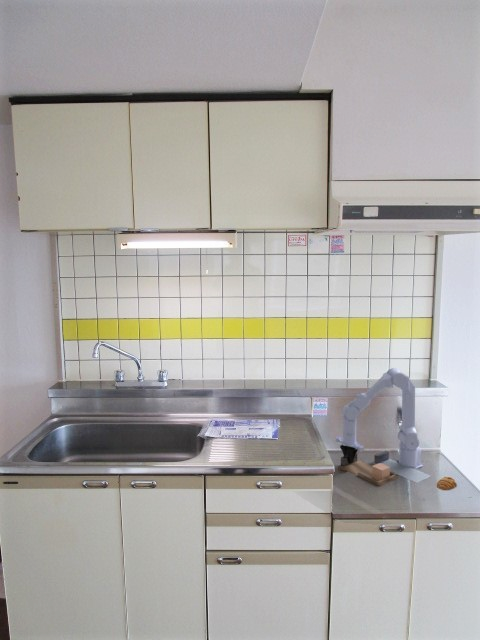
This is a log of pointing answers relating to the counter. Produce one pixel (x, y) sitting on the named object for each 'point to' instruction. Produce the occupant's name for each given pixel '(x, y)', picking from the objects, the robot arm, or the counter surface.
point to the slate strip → (400, 468)
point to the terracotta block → (380, 471)
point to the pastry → (446, 483)
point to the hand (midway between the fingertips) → (349, 461)
